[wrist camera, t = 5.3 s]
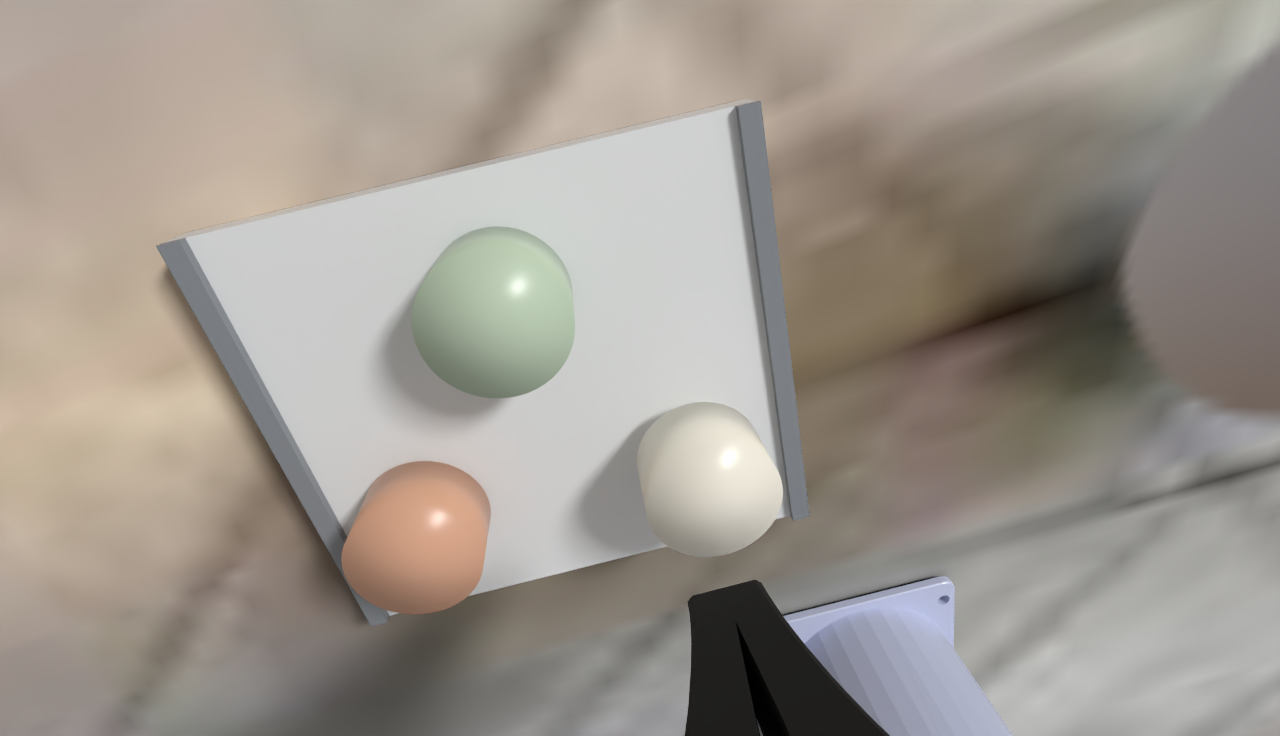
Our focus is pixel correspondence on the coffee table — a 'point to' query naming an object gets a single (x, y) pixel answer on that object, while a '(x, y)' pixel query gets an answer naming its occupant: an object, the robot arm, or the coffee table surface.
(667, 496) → the cream button
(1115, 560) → the coffee table surface
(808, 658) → the robot arm
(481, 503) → the terracotta button
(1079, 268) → the coffee table surface
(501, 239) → the sage button
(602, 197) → the panel
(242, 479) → the coffee table surface
